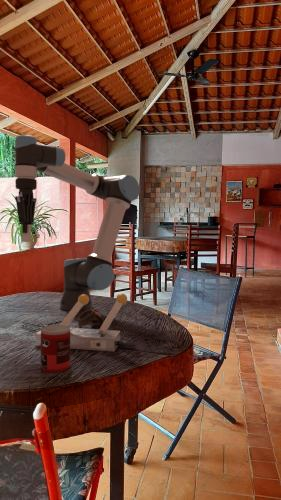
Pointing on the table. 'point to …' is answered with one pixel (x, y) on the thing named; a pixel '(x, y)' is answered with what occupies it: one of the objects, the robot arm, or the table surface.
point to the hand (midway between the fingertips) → (26, 241)
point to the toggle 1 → (75, 309)
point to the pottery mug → (92, 315)
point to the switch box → (93, 340)
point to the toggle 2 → (113, 312)
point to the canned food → (55, 348)
